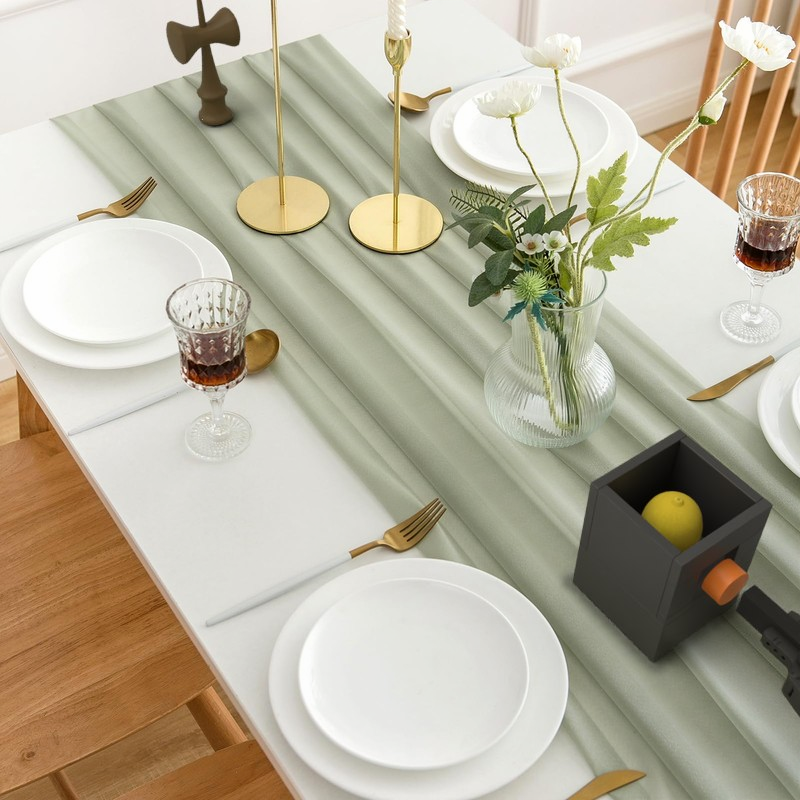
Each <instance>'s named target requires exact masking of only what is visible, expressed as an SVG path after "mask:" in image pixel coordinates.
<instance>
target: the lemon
mask: <svg viewBox="0 0 800 800" xmlns="http://www.w3.org/2000/svg"><path fill="white" fill-rule="evenodd" d="M641 516H642V517H643V518H644V519H645V520H646V521H647V522H648V523H650V524H651V525H652V526H653V527H654V528H655V529H656V530H657V531H658V532H660V533H661V534H662V535H663V536H664V537H665V538H666V539H667V540H668V541H670V542H671V543H672V544H673V545H674V546H675V547H676V548H677V549H678V550H679V551H681V552H682V553H683V552H684V551H686V550H687V549H689V548H690V547H692V546H693V545H695V544H696V543H697V542H699V541H700V539H701V535H702V531H703V521H702V514H701V511H700V509H699V507H698V505H697V504H696V502H695V501H694V500H693V499H692V498H690V497H689V496H687V495H685V494H683V493H680V492H675V491H669V492H664V493H661V494H659V495H657V496H655V497H654V498H653V499H652V500H651V501H650V502H649V503H648V504H647V505H646V507H645V508H644V510H643V513H642V515H641Z"/></svg>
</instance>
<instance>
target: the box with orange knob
mask: <svg viewBox="0 0 800 800" xmlns="http://www.w3.org/2000/svg"><path fill="white" fill-rule="evenodd" d="M669 491H675V492H680V493H683V494H685V495H687V496H689V497H690V498H692V499H693V500H694V501H695V502H696V504H697V505H698V507H699V509H700V511H701V514H702V521H703V531H702V535H701V539H700V541H699V542H697V543H696V544H695V545H693V546H692V547H690V548H689V549H687V550H686V551H684V552H683V553H682V552H681V551H679V550H678V549H677V548H676V547H675V546H674V545H673V544H672V543H671V542H670V541H668V540H667V539H666V538H665V537H664V536H663V535H662V534H661V533H660V532H658V531H657V530H656V529H655V528H654V527H653V526H652V525H651V524H650V523H648V522H647V521H646V520H645V519H644V518H643V517H642V516H641V515H642V513H643V510H644V508H645V507H646V505H647V504H648V503H649V502H650V501H651V500H652V499H653V498H654V497H655V496H657V495H659V494H661V493H664V492H669ZM585 506H586V507H585V512H584V516H583V517H584V518H583V522H582V529H581V534H580V539H579V544H578V549H577V555H576V561H575V566H574V570H573V571H574V572H573V577H572V583H573V585H574V586H576V587H577V588H578V590H580V591H581V592H582V594H583V595H585V596H586V597H587V599H588V600H589V601H590V602H592V604H593V605H595V607H597V608H598V610H600V612H601V613H602V614H604V615H605V617H607V619H608V620H610V621H611V623H613V624H614V626H615V627H616V628H617V629H619V630H620V631H621V633H622V634H623V635H625V636H626V638H628V640H629V641H630V642H632V643H633V644H634V645H635V647H637V649H638V650H639V651H640V652H641V653H642V654H643V655H644V656H645V657H647V659H648V660H649V661H650V662H651V663H655V662H657V661H658V660H659V659H660V658H662V657H664V655H666V654H667V653H669V652H670V651H672V650H673V649H675V648H676V647H678V645H680V644H681V643H683V642H684V641H686V640H687V639H689V638H690V637H691V636H693V635H694V634H696V633H697V632H699V630H701V629H702V628H704V627H705V626H706V625H708V624H710V623H711V622H712V621H714V619H717V618H718V617H720V616H721V615H722V614H723V613H725V612H726V611H727V610H729V609H731V608H732V607H733V606H735V605H736V603H737V600H738V598H739V595H740V592H741V591H740V592H739V593H738V594H737V595H736V596H735V597H734V598H733V599H732V600H730V601H729V602H727V603H726V604H723V605H719V604H718V603H717V602H716V601H715V600H714V599H713V598H711V597H710V596H709V595H708V594H707V593H706V592H705V591H704V590H703V589H702V583H703V581H704V579H705V578H706V576H707V575H708V574H709V572H710V571H711V570H712V569H713V568H714V567H715V566H716V565H717V564H719V563H720V562H722V561H723V560H725V559H731V560H732V561H734V562H735V563H736V564H737V565H738V566H739V567H740V568H742V569H743V570H744V571H745V572H746V573H747V574H748V572H749V569H750V567H751V564H752V561H753V558H754V556H755V553H756V551H757V548H758V545H759V543H760V540H761V537H762V535H763V532H764V531H765V528H766V525H767V523H768V519H769V516H770V514H771V512H772V509H773V506H774V504H773V503H771V502H770V501H769V500H768V499H767V498H765V497H764V496H763V495H762V494H760V493H759V492H758V491H756V490H755V489H754V488H753V487H752V486H750V484H748V483H747V482H746V481H744V480H743V479H742V478H741V477H740V476H738V475H737V474H736V473H735V472H734V471H732V470H731V469H730V468H728V467H727V466H726V465H725V464H724V463H722V462H721V461H720V460H718V459H717V458H716V457H715V456H714V455H712V454H711V452H709V451H708V450H706V449H705V448H704V447H702V446H701V445H700V444H699V443H698V442H696V441H695V439H693V438H691V437H690V436H689V435H687V434H686V432H684V431H683V430H682V429H681V428H678V429H677V430H675V431H674V432H673V433H671V434H669V435H667V436H666V437H664V438H663V439H660V440H659V441H657V442H656V443H654V444H653V445H650V446H649V447H648V448H646V449H644V450H642V451H640V452H639V453H638V454H636V455H634V456H632V457H630V458H629V459H627V460H626V461H624V462H622V463H621V464H620V465H617V466H616V467H614V468H613V469H611V470H609V471H608V472H606V473H604V474H603V475H601V476H600V477H598V478H596V479H594V480H593V481H590V485H589V491H588V496H587V501H586V505H585Z"/></svg>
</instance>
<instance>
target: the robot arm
mask: <svg viewBox="0 0 800 800" xmlns="http://www.w3.org/2000/svg"><path fill="white" fill-rule="evenodd" d="M735 612H736V613H737V614H739V615H740V616H741V618H743V619H744V620H745V621H746V623H748V624H749V625H751V626H752V628H753V629H755V630H756V631H757V632H758V633H759V634H760V635H761V637H760V639H759V641H760V643H761V645H762V646H763V648H765V649H766V650H767V651H768V652H769V653H770V654H771V655H773V657H774V658H776V660H778V661H779V662H780V663H781V664H782V665H783V667H785V668H786V670H787V676H786V678H785V680H784V682H783V684H782V686H781V689H780V690H781V694H782V695H783V696H784V698H785V699H786V701H787V702H788V703H789V705H790V706H791V707H792V709H793V710H794V712H795V713H796V714H797V716H798V718H800V614H799V613H797V612H796V611H794V610H790V611H789V612H787V611H786V610H785V609H783V608H782V607H781V605H779V604H778V603H777V602H776V601H774V600H773V599H772V598H771V597H770V596H769V595H767V593H765V592H764V591H763V590H762V589H760V587H758V585H756V584H753V585H752V586H750V587H749V588H748V589H746V590H745V591H743V592H742V593H741V597H740V599H739V602H738V605H737V606H736V609H735Z"/></svg>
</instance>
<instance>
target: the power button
mask: <svg viewBox="0 0 800 800" xmlns="http://www.w3.org/2000/svg"><path fill="white" fill-rule="evenodd" d="M749 577H750V576H749V574H748V572H747V573H746V572H745V571H744V570H743V569H742V568H740V567H739V566H738V565H737V564H736V563H735V562H734V561H732V560H731V559H725V560H723V561H722V562H720V563H719V564H717V565H716V566H715V567H714V568H713V569H712V570H711V571H710V572H709V574H708V575H707V576H706V578H705V579H704V581H703V583H702V589H703V590H704V591H705V592H706V593H707V594H708V595H709V596H710V597H711V598H713V599H714V600H715V601H716V602H717V603H718V604H719V605H723V604H726V603H727V602H729V601H730V600H732V599H733V598H734V597H735V596H736V595H737V594H738V593H739V592H741V591H742V590H743V589H744V587H745V586H746V585H747V583H748V580H749ZM739 594H740V593H739Z"/></svg>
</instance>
